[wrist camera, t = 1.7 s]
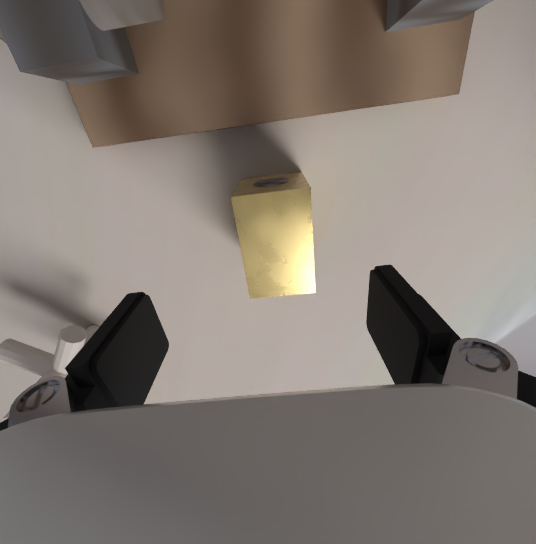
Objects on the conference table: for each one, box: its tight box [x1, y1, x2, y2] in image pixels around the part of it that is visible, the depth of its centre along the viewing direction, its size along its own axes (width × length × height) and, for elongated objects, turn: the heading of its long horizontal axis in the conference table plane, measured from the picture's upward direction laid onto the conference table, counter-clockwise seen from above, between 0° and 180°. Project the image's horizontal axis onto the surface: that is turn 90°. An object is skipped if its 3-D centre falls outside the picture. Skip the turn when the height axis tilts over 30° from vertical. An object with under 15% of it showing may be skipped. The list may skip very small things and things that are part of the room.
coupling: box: [231, 172, 315, 299], centre depth 19 cm, size 7×4×6 cm, turn 7°
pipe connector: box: [0, 325, 99, 422], centre depth 23 cm, size 10×10×10 cm
